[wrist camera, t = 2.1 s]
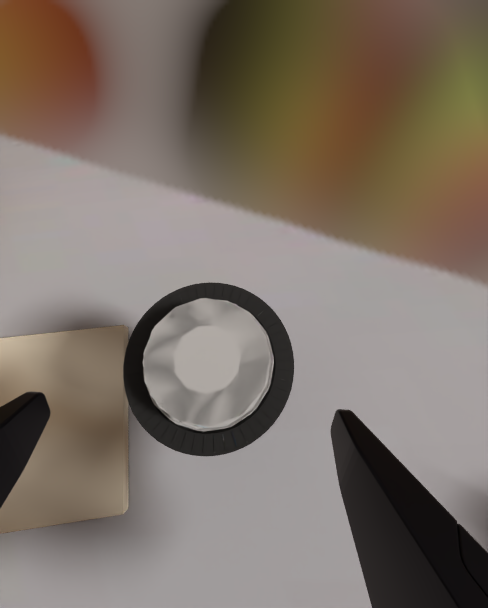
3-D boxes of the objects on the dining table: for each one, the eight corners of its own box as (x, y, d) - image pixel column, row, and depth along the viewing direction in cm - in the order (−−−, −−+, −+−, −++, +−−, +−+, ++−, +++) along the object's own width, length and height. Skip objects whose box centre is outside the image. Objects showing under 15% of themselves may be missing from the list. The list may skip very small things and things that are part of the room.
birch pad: (128, 508, 15) (122, 514, 14) (-71, 539, 14) (-88, 547, 14) (128, 327, 18) (123, 325, 17) (-38, 345, 17) (-51, 343, 17)
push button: (186, 456, 16) (120, 552, 6) (142, 376, 17) (30, 358, 8) (280, 388, 17) (339, 385, 8) (232, 318, 19) (234, 241, 9)
